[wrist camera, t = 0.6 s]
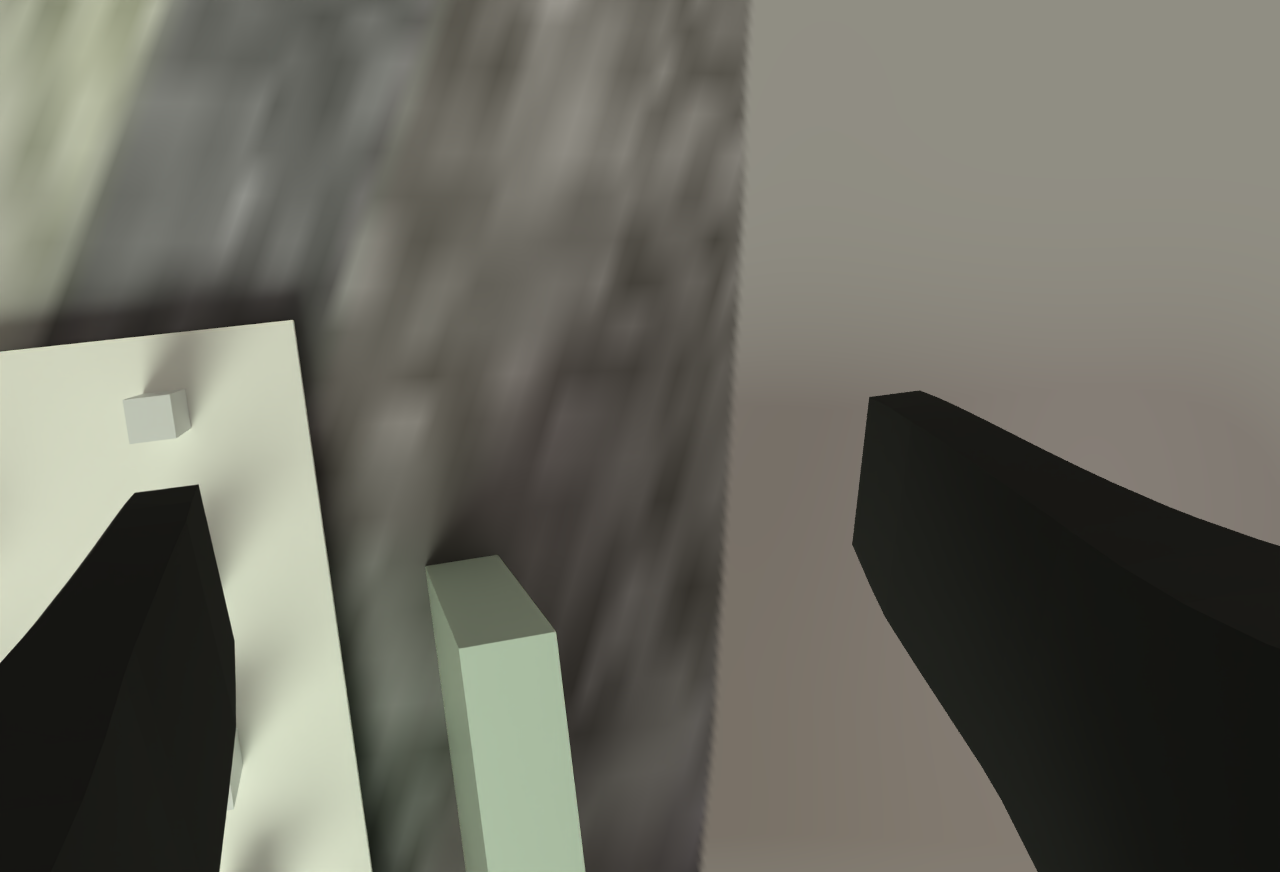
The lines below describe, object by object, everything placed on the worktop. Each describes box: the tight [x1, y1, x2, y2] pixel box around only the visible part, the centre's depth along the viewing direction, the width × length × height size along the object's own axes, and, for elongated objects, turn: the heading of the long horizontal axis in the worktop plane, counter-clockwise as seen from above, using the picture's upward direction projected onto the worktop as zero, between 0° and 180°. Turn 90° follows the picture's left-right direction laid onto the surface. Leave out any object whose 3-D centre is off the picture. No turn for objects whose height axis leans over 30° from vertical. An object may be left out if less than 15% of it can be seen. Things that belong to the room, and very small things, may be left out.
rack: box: [0, 320, 373, 872], centre depth 29 cm, size 17×13×4 cm
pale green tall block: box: [425, 555, 585, 872], centre depth 29 cm, size 2×9×9 cm, turn 6°
